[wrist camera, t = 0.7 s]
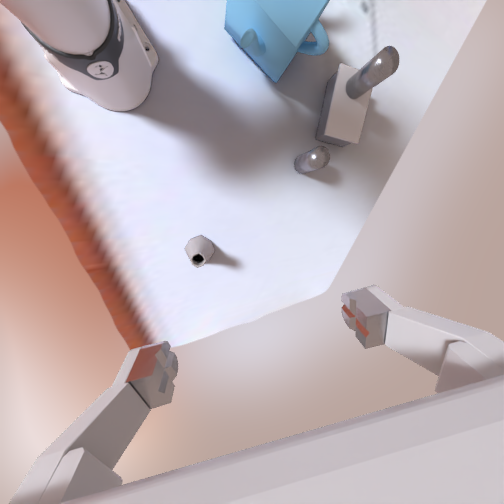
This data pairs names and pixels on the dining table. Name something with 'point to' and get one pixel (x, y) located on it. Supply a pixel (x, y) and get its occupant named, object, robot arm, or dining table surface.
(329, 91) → the scale
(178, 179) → the dining table surface
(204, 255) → the flask
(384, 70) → the cylinder
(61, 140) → the dining table surface
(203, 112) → the dining table surface
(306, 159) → the ball
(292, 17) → the teakettle
